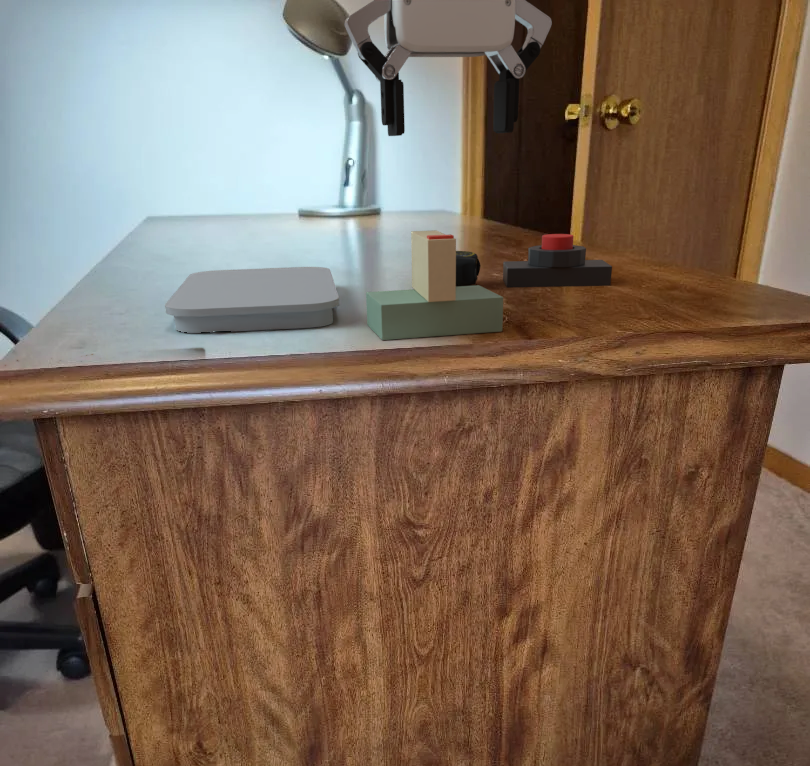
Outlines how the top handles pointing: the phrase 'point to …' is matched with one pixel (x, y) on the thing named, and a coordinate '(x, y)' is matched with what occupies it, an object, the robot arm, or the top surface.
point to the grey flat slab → (254, 300)
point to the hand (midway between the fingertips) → (450, 134)
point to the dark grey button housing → (556, 269)
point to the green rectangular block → (433, 313)
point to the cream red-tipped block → (434, 265)
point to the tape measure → (467, 268)
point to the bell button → (557, 241)
